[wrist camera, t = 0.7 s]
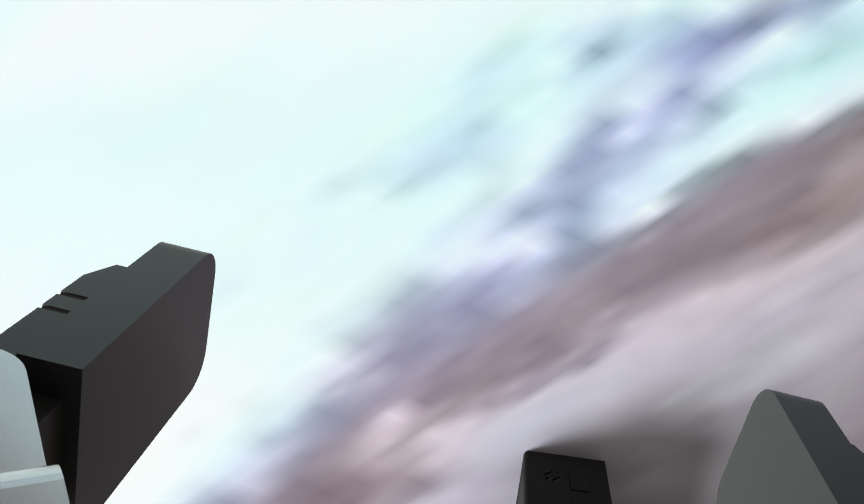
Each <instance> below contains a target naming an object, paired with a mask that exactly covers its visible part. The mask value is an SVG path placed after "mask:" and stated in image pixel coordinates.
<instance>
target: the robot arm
mask: <svg viewBox="0 0 864 504" xmlns="http://www.w3.org/2000/svg"><path fill="white" fill-rule="evenodd" d="M214 278H215V259H214V256H213V255H212V254H210V253H206V252H202V251H197V250H193V249H189V248H185V247H181V246H177V245H173V244H168V243H164V242H160V243H158V244H157V245H156V246H154V247H153V248H152V249H150V250H149V251H148V252H147V253H145V254H144V255H143V256H141V257H140V258H139V259H137V260H136V261H135V262H134V263H132V264H131V265H130V266H128V267H123V266H119V265H114V266H111V267H108V268H105V269H101V270H98V271H95V272H92V273H88V274H85V275H83V276H81V277H80V278H79V279H77V280H76V281H74V282H73V283H72V284H70V285H69V286H67V287H66V288H65V289H63V290H62V291H61V294H60V295H59V294H56V295H55V296H53V297H52V298H51V299H49V300H48V301H46V302H45V303H44V304H43V306H42V308H37V309H35V310H34V311H32V312H31V313H29V314H28V315H27V316H25V317H24V318H22V319H21V320H20V321H18V322H17V323H15V324H14V325H13V326H11V327H10V328H8V329H7V330H6V331H4V332H3V333H1V334H0V504H104V503H105V502H106V500H107V499H108V498H109V496H110V495H111V494H112V492H113V491H114V490H115V489H116V487H117V486H118V485H119V483H120V482H121V481H122V480H123V478H124V477H125V476H126V474H127V473H128V472H129V471H130V469H131V468H132V467H133V465H134V464H135V463H136V462H137V460H138V459H139V458H140V456H141V455H142V454H143V452H144V451H145V450H146V449H147V447H148V446H149V445H150V443H151V442H152V441H153V440H154V438H155V437H156V436H157V434H158V433H159V432H160V431H161V429H162V428H163V427H164V425H165V424H166V423H167V421H168V420H169V419H170V418H171V416H172V415H173V414H174V412H175V411H176V410H177V409H178V407H179V406H180V405H181V403H182V402H183V401H184V400H185V398H186V397H187V396H188V394H189V393H190V392H191V390H192V389H193V387H194V385H195V383H196V381H197V379H198V376H199V374H200V371H201V368H202V365H203V361H204V357H205V352H206V345H207V336H208V328H209V320H210V311H211V303H212V295H213V287H214ZM717 504H864V453H863V452H861V451H860V450H859V449H858V448H857V447H856V446H854V445H852V444H850V442H849V441H848V439H847V438H846V436H845V435H844V433H843V432H842V430H841V429H840V427H839V426H838V424H837V423H836V421H835V420H834V419H833V417H832V416H831V414H830V413H829V411H828V410H827V408H826V407H825V406H824V404H823V403H821V402H818V401H814V400H810V399H806V398H802V397H798V396H793V395H789V394H785V393H781V392H777V391H773V390H769V389H767V390H764V391H762V392H761V393H760V394H759V395H758V396H757V397H756V399H755V401H754V402H753V405H752V407H751V409H750V411H749V414H748V416H747V419H746V421H745V423H744V426H743V428H742V430H741V433H740V435H739V438H738V440H737V442H736V445H735V447H734V450H733V452H732V454H731V457H730V459H729V461H728V464H727V466H726V469H725V471H724V473H723V476H722V478H721V481H720V485H719V489H718V495H717Z"/></svg>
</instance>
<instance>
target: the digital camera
mask: <svg viewBox="0 0 864 504" xmlns="http://www.w3.org/2000/svg"><path fill="white" fill-rule="evenodd" d="M550 471H553V472H551V473H549V474H547V475H544V474H546V473H548V472H550ZM557 472H559V473H558V474H557ZM558 476H560V478H558V479H556V480H554V481H551V480H552V479H554V478H556V477H558ZM547 477H549V479H546V480H545V478H547ZM516 504H612V501H611V495H610V490H609V484H608V479H607V473H606V468H605V462H604V461H598V460H591V459H584V458H576V457H569V456H562V455H555V454H548V453H540V452H533V451H527V452H525V453H524V457H523V464H522V470H521V477H520V483H519V489H518V496H517V502H516Z"/></svg>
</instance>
